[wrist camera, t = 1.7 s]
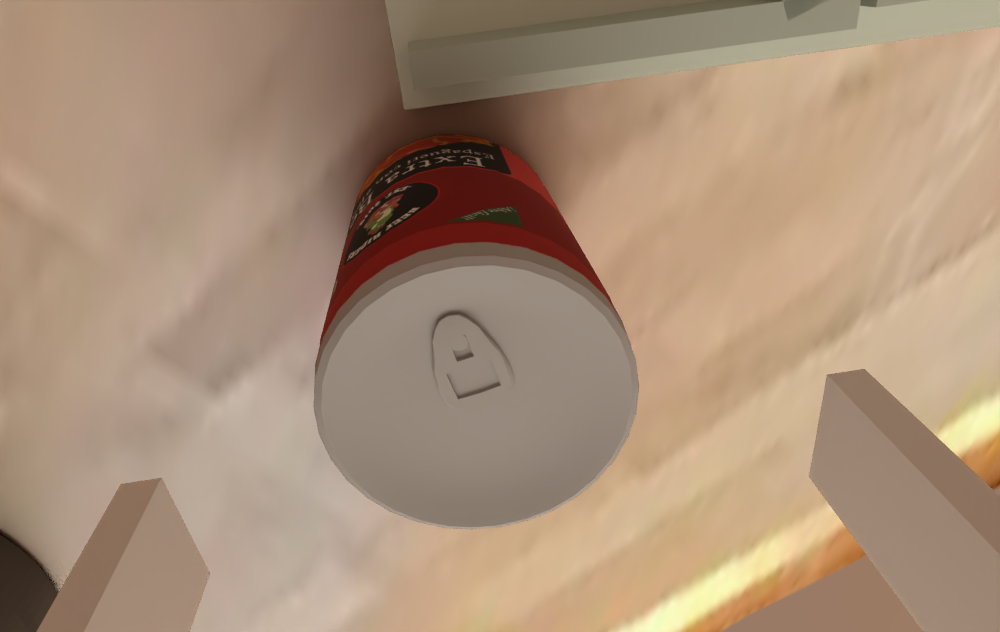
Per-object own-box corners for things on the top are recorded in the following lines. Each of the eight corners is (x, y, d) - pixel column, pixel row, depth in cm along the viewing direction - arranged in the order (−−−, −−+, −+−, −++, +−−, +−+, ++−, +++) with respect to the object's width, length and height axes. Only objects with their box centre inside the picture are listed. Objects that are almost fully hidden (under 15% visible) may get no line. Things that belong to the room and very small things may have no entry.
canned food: (480, 82, 22) (532, 181, 12) (591, 258, 25) (697, 437, 16) (305, 207, 23) (229, 382, 14) (434, 355, 27) (445, 574, 17)
